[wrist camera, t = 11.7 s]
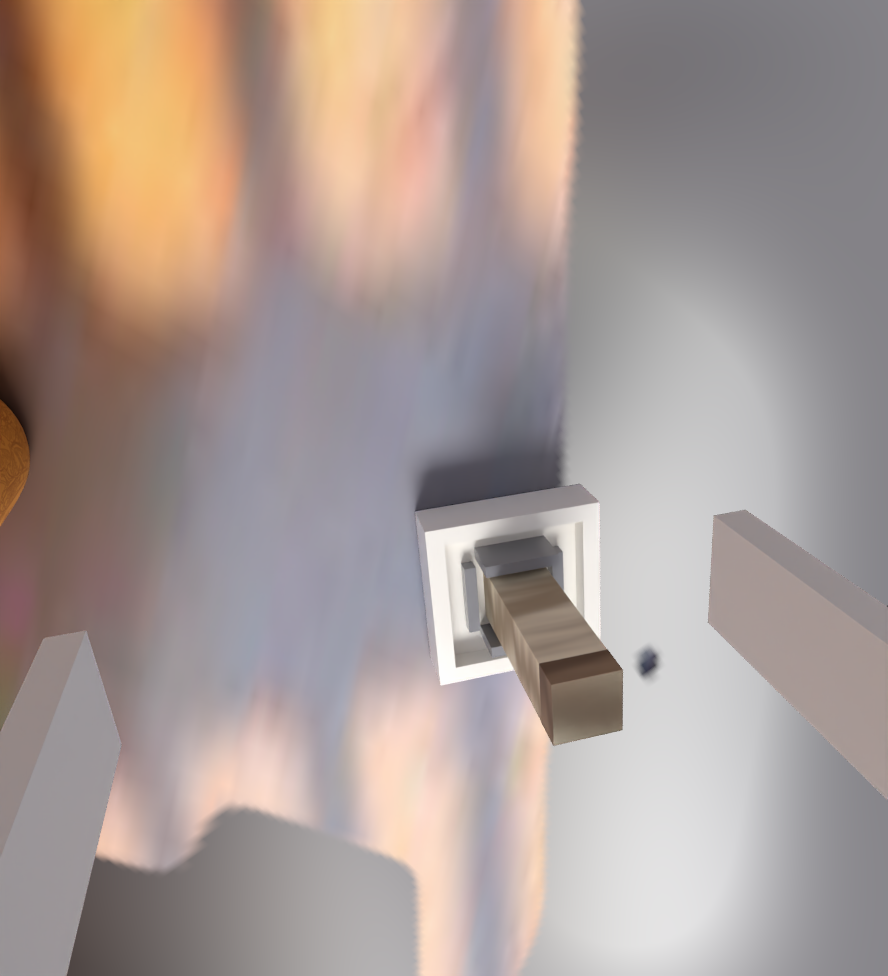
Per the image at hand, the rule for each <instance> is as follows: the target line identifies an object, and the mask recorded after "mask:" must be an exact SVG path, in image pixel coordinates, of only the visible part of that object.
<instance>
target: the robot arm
mask: <svg viewBox="0 0 888 976" xmlns="http://www.w3.org/2000/svg"><path fill="white" fill-rule="evenodd" d="M708 623H709V624H710V625H711V626H712V627H713V628H714V629H715V630H716V631H717V632H718V633H719V634H720V635H721V636H722V637H723V638H724V639H725V640H726V641H727V642H728V643H729V644H730V645H731V646H732V647H733V648H734V649H735V650H736V651H737V652H738V653H739V654H740V655H741V656H742V657H744V659H745V660H746V661H747V662H749V664H751V666H753V667H754V668H755V669H756V670H757V671H758V672H759V673H760V674H761V675H762V676H763V677H764V678H765V679H766V680H767V681H768V682H769V683H770V684H771V685H772V686H773V687H774V688H775V689H776V690H777V691H778V692H779V693H780V694H781V695H782V696H783V697H784V698H785V699H786V700H787V701H788V702H789V703H790V704H791V705H792V706H793V707H794V708H795V709H796V710H797V711H798V712H799V713H800V714H801V715H802V716H803V717H804V718H805V719H806V720H807V721H808V722H809V723H810V724H811V725H812V726H813V727H814V728H815V729H816V730H817V731H818V732H819V733H820V734H821V735H822V736H823V737H824V738H825V739H826V740H827V741H828V742H829V743H830V744H831V745H832V746H833V747H834V748H835V749H836V750H837V751H838V752H839V753H841V755H842V756H843V757H844V758H845V759H846V760H847V761H849V763H850V764H852V765H853V766H854V767H855V768H856V769H857V770H858V771H859V772H860V773H861V774H862V775H863V776H864V777H865V778H866V779H867V780H868V781H869V782H870V783H871V784H872V785H873V786H874V787H875V788H876V789H877V790H878V791H879V792H880V793H881V794H882V795H883V796H884V797H885V798H886V799H887V800H888V606H885V605H884V604H883V603H881V602H880V601H878V600H877V599H875V598H874V597H872V596H871V595H869V594H868V593H867V592H865V591H863V590H862V589H861V588H859V587H857V586H856V585H855V584H853V583H852V582H850V581H849V580H848V579H846V578H845V577H843V576H842V575H840V574H839V573H837V572H836V571H834V570H833V569H831V568H830V567H828V566H827V565H825V564H824V563H823V562H821V561H820V560H818V559H817V558H815V557H814V556H812V555H811V554H809V553H808V552H806V551H805V550H804V549H802V548H801V547H799V546H798V545H796V544H795V543H793V542H792V541H790V540H789V539H787V538H786V537H785V536H783V535H782V534H780V533H779V532H777V531H776V530H774V529H773V528H771V527H770V526H768V525H767V524H766V523H764V522H762V521H761V520H760V519H758V518H757V517H755V516H754V515H752V514H751V513H749V512H748V511H746V510H742V511H736V512H730V513H725V514H720V515H714V520H713V539H712V558H711V576H710V594H709V613H708ZM121 745H122V744H121V741H120V738H119V734H118V731H117V728H116V725H115V722H114V718H113V715H112V712H111V709H110V706H109V702H108V699H107V696H106V693H105V689H104V686H103V683H102V680H101V677H100V673H99V670H98V667H97V664H96V661H95V657H94V654H93V651H92V648H91V644H90V641H89V638H88V635H87V632H86V631H81V632H75V633H70V634H64V635H59V636H54V637H48V638H44V639H43V641H42V643H41V645H40V647H39V650H38V652H37V654H36V656H35V658H34V660H33V663H32V665H31V667H30V669H29V671H28V673H27V676H26V678H25V680H24V682H23V684H22V686H21V689H20V691H19V693H18V695H17V697H16V699H15V701H14V704H13V706H12V708H11V710H10V712H9V714H8V717H7V719H6V721H5V723H4V725H3V727H2V730H1V732H0V976H66V975H67V970H68V966H69V962H70V958H71V954H72V949H73V945H74V941H75V936H76V932H77V928H78V925H79V920H80V916H81V912H82V908H83V904H84V899H85V895H86V891H87V887H88V882H89V878H90V874H91V870H92V866H93V862H94V858H95V854H96V849H97V845H98V841H99V837H100V833H101V828H102V824H103V820H104V816H105V812H106V808H107V803H108V799H109V795H110V791H111V787H112V783H113V778H114V774H115V770H116V766H117V762H118V757H119V753H120V749H121Z"/></svg>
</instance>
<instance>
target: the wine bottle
mask: <svg viewBox="0 0 888 976" xmlns="http://www.w3.org/2000/svg"><path fill="white" fill-rule="evenodd" d="M29 467H30V454H29V446H28V442H27V439H26V435H25V433H24V430H23V428H22V426H21V424H20V423H19V421H18V419H17V418H16V416H15V415H14V414H13V412H12V411H11V410H10V409H9V408H8V406H7V405H6V404H5V403H4V402H3V401H2V400H0V526H1V524H2V523H3V521H4V520H5V518H6V517H7V515H8V514H9V512H10V511H11V509H12V508H13V506H14V504H15V503H16V501H17V499H18V498H19V496H20V494H21V492H22V490H23V488H24V486H25V483H26V480H27V477H28V473H29Z"/></svg>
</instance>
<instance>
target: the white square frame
mask: <svg viewBox="0 0 888 976" xmlns="http://www.w3.org/2000/svg"><path fill="white" fill-rule="evenodd" d="M599 504H600V503H599V501H598V500H597V499H596V498H595V497H593V496H592V495H591V494H590V493H589V492H588V491H587V490H586V489H585V488H584V487H583V486H582V485H581V484H576V485H570V486H564V487H558V488H552V489H546V490H540V491H534V492H528V493H522V494H516V495H510V496H504V497H498V498H492V499H486V500H480V501H474V502H468V503H462V504H456V505H450V506H444V507H438V508H432V509H426V510H420V511H415V517H416V527H417V536H418V545H419V555H420V564H421V573H422V583H423V592H424V601H425V611H426V620H427V629H428V639H429V648H430V657H431V660H432V663H433V666H434V669H435V671H436V674H437V677H438V680H439V683H440V685H445V684H450V683H455V682H460V681H464V680H469V679H474V678H479V677H484V676H489V675H493V674H498V673H503V672H508V671H513V670H514V668H513V666H512V664H511V662H510V661H509V659H508V657H507V655H506V653H505V651H504V649H503V647H502V645H501V643H500V641H499V640H498V638H497V636H496V634H495V632H494V630H493V628H492V626H491V624H490V622H489V620H488V618H487V617H486V609H485V595H484V582H483V573H484V575H485V577H486V578H490V577H496V576H501V575H507V574H512V573H517V572H523V571H528V570H534V569H539V568H545V567H546V568H547V569H548V571H549V572H550V573H551V575H552V576H553V577H554V579H555V580H556V581H557V583H558V584H559V586H560V587H561V588H562V590H563V591H564V592H565V594H566V595H567V596H568V598H569V599H570V600H571V602H572V603H573V604H574V606H575V607H576V608H577V610H578V611H579V612H580V614H581V615H582V616H583V618H584V619H585V620H586V622H587V623H588V625H589V626H590V627H591V629H592V630H593V631H594V633H595V634H596V635H597V637H598V638H599V639H600V641H601V638H600V511H599V510H600V509H599V508H600V505H599Z"/></svg>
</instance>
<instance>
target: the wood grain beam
mask: <svg viewBox="0 0 888 976" xmlns="http://www.w3.org/2000/svg"><path fill="white" fill-rule="evenodd" d="M483 582H484V595H485V609H486V617H487V618H488V620H489V622H490V624H491V626H492V628H493V630H494V632H495V634H496V636H497V638H498V640H499V641H500V643H501V645H502V647H503V649H504V651H505V653H506V655H507V657H508V659H509V661H510V662H511V664H512V666H513V668H514V670H515V672H516V674H517V676H518V678H519V680H520V682H521V683H522V685H523V687H524V689H525V691H526V693H527V695H528V697H529V699H530V701H531V703H532V705H533V706H534V708H535V710H536V712H537V714H538V716H539V718H540V720H541V723H542V725H543V727H544V728H545V730H546V732H547V734H548V736H549V738H550V740H551V742H552V744H553V746H554V745H559V744H563V743H568V742H572V741H577V740H580V739H586V738H590V737H594V736H599V735H603V734H608V733H612V732H616V731H620V730H622V726H623V725H622V724H623V720H622V718H623V709H622V708H623V670H622V668H621V667H620V665H619V664H618V663H617V662H616V660H615V659H614V658H613V656H612V655H611V654H610V652H609V651H608V650H607V649H606V647H605V646H604V645H603V643H602V642H601V641H600V639H599V638H598V637H597V635H596V634H595V633H594V631H593V630H592V629H591V627H590V626H589V625H588V623H587V622H586V620H585V619H584V618H583V616H582V615H581V614H580V612H579V611H578V610H577V608H576V607H575V606H574V604H573V603H572V602H571V600H570V599H569V598H568V596H567V595H566V594H565V592H564V591H563V590H562V588H561V587H560V586H559V584H558V583H557V581H556V580H555V579H554V577H553V576H552V575H551V573H550V572H549V571H548V569H547V568H546V567H545V568H539V569H534V570H528V571H523V572H517V573H512V574H507V575H501V576H496V577H490V578H486V577H485V575H484V573H483Z"/></svg>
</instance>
